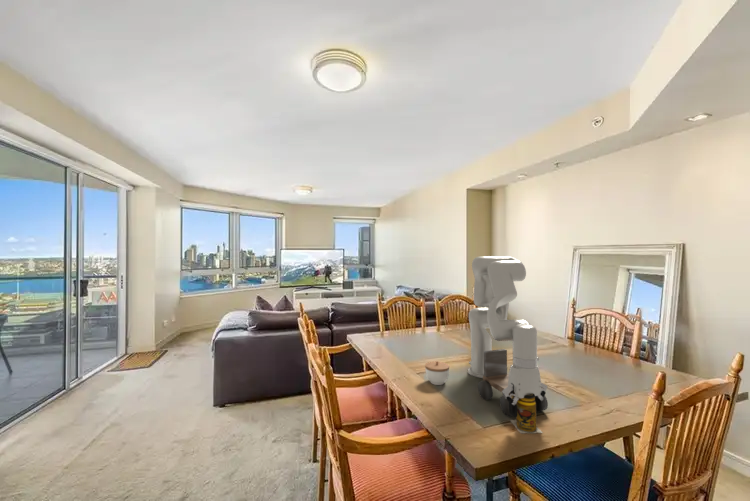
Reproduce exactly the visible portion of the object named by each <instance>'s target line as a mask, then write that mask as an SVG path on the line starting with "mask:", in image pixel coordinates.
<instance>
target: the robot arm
mask: <svg viewBox="0 0 750 501" xmlns="http://www.w3.org/2000/svg"><path fill="white" fill-rule="evenodd" d="M471 262H472V263H471V264H472V265H471V270H472V273H473V275H474V284H473V285H474V286H473V304H474V305H475V306H477V307H474V308H472V309H470V310H469V312H468V321H469V327H470V328H469V329H470V361H468V364H469V365H470V367H469V368H468V369H467V373H468V374H469V376H471V377H475V378H478V379H483V376H484V351H491V350H493V349H492V347H493V346H492V342H493V341H492V340H493V339H494V340H495V341H498V342H512V364H511V365H510V366H509V372H508V374H509V378H508V387H506V388H505V389H504V390H503V391H502V392H501V394H503V395H504V398H505V399H506V400H507V401H508V402H509V413H510V414H511V415H513V416H512V417H513V418H516V417H517V405H516V402H517V401H518V399H521V398H524V396H525V395H530V394H534V395H535V402H536V413H539V414H541V413H542V412H543V411H542V405H541V401H542V400H543V397H544V395H545V396H546V392H547V389H548V385H547V384H545V383H542V380H541V372H540V367H539V365H538V362H539V360H540V358H539V357H538V330H537V328H536V326H534V325H531V323H530V322H529V321H527V319H526V320H525V319H508V314H509V306H510V303H511V302H512V301H514V300H515V299H516V298H517V296H518V292H517V288H516V285H515V283H514V282H522V281H524V280H525V279H526V276H527V270H526V267H525V265H524V263H523V262H522V261H521V260H519V259H517V258H515V257H512V256H509V255H505V256H504V255H501V256H500V255H499V256H497V255H495V256H493V255H491V256H490V255H488V256H486V255H484V256H482V255H481V256H477V257H474V258H473V260H472V261H471ZM487 329H489V332H488V330H487ZM509 393H510V396H509ZM515 394H516V395H515ZM503 395H502V396H503ZM513 397H515V398H514V399H513ZM512 399H513V400H512Z"/></svg>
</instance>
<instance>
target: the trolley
mask: <svg viewBox="0 0 750 501" xmlns="http://www.w3.org/2000/svg"><path fill="white" fill-rule="evenodd" d="M508 378H509V373H508V350H507V349H506V348H503V349H502V348H500V349H492V350H491V351H484V376H483V378H482V380H481V381H478V385H477V390H478V393H479V396H480V397H481V399H482V400H484V401H486V400H491V399H492V398H493V395H494V393H493V392H494V390H493V388H494V389H496V391H497V390H498V392H500V393H502V391H503V390H504V389H505V388H506V387H508ZM515 395H516V394H515ZM509 396H510V393H509ZM514 398H515V397H513V399H514ZM513 399H512V400H513ZM548 404H549V403H548V398H547V397H546V394H545V395H544V397H543V400H542V401H541V405H542V412H543V411H546V410H547V409H548ZM499 405H500V409H501V411H502V413H503V414H504V415H505V416H507V417H508V418H511V417H514V416H513V415H511V414H510V413H509V402H508V401H507V400H506V399H505V398H504V395H501V396H500V398H499Z"/></svg>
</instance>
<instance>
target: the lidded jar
mask: <svg viewBox="0 0 750 501" xmlns="http://www.w3.org/2000/svg"><path fill="white" fill-rule="evenodd" d="M424 367H425V376H426V378H427V380H428V381H429V382H430V383H431V384H432V385H435V386H442V385H444V384H445V382H446V381H447V380H448V379H449V375H450V364H448V363H446V362H444V361H437V360H436V361H435V360H433V361H429V362H427V363H425V365H424Z"/></svg>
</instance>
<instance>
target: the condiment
mask: <svg viewBox="0 0 750 501" xmlns="http://www.w3.org/2000/svg"><path fill="white" fill-rule="evenodd" d="M516 405H517V417H515V418H516V419H514V420H513V419H509V422H510V423H511V424H512V425H513V426H514V427H515V429H516V430H517V431H518V432H519V434H544V432H543V431H542V430H541V429H540V428H539V427H538V426H537V411H536V402H535V395H534V394H530V395H525V396H524V398H521V399H518V401H517V402H516Z"/></svg>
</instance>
